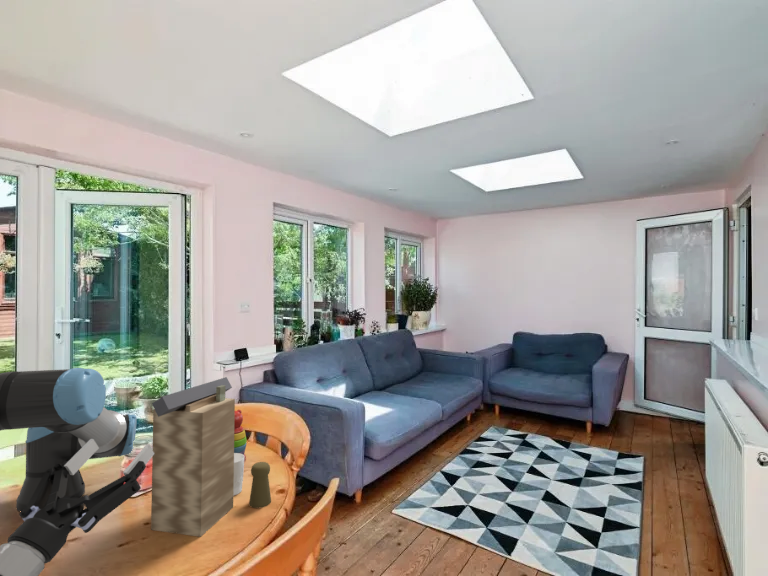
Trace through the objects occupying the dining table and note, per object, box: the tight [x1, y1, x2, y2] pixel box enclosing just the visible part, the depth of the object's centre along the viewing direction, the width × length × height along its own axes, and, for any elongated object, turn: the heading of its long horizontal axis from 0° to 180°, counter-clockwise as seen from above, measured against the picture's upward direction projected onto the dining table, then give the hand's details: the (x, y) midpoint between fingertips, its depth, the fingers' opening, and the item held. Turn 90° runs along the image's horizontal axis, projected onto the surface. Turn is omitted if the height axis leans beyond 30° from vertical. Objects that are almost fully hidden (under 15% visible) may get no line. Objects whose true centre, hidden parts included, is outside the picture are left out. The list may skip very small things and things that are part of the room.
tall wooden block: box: [150, 385, 236, 538], centre depth 107 cm, size 14×14×34 cm
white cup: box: [233, 453, 245, 497], centre depth 121 cm, size 8×8×10 cm
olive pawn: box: [248, 461, 272, 509], centre depth 115 cm, size 6×6×11 cm
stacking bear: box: [234, 409, 248, 463], centre depth 143 cm, size 11×10×18 cm
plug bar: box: [151, 376, 233, 417], centre depth 107 cm, size 4×24×4 cm
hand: (122, 446), depth 84 cm, fingers open, 13 cm apart
